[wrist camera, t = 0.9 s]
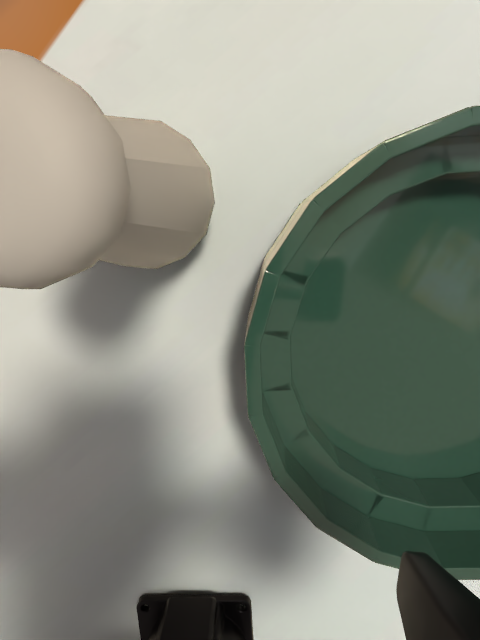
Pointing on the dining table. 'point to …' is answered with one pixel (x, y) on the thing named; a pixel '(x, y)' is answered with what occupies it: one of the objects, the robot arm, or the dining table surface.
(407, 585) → the robot arm
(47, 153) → the salt shaker
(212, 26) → the dining table surface
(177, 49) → the dining table surface
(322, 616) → the dining table surface
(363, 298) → the shallow green tray
